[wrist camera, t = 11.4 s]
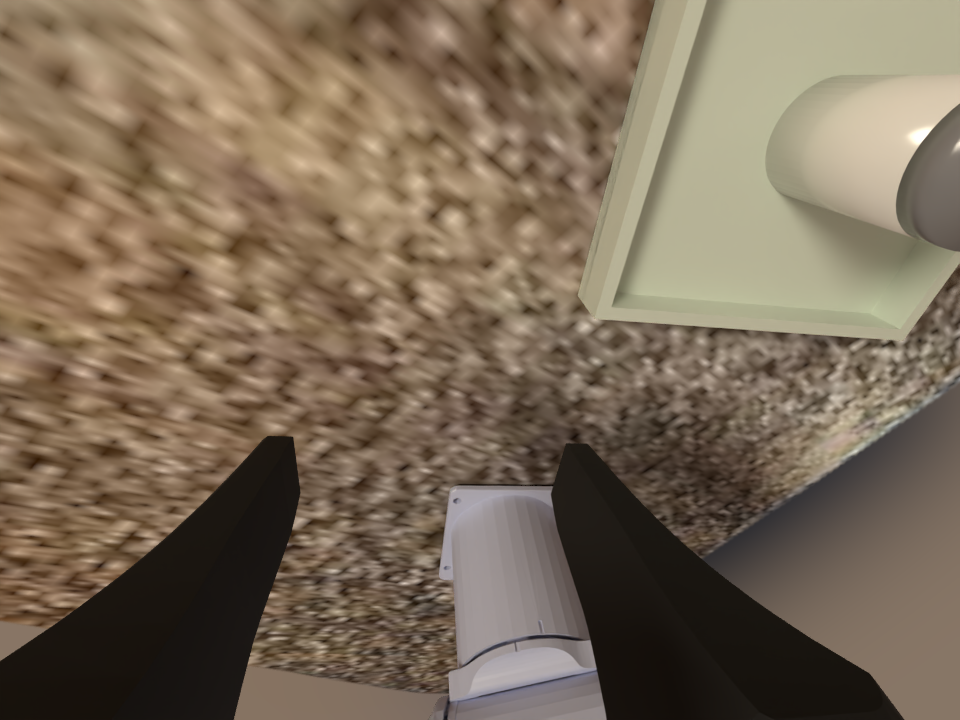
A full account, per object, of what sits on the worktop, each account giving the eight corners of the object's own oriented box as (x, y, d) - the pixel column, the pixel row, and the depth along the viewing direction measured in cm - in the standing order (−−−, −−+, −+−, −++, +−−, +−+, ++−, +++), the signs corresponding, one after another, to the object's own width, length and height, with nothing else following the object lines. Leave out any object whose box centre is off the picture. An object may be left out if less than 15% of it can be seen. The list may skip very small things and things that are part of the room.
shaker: (842, 198, 19) (1027, 252, 13) (748, 196, 18) (895, 251, 13) (900, 77, 17) (1156, 78, 11) (793, 71, 16) (1000, 68, 10)
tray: (860, 317, 23) (903, 340, 21) (577, 295, 21) (594, 319, 19) (1127, -94, 15) (1239, -123, 13) (710, -210, 13) (766, -269, 11)
